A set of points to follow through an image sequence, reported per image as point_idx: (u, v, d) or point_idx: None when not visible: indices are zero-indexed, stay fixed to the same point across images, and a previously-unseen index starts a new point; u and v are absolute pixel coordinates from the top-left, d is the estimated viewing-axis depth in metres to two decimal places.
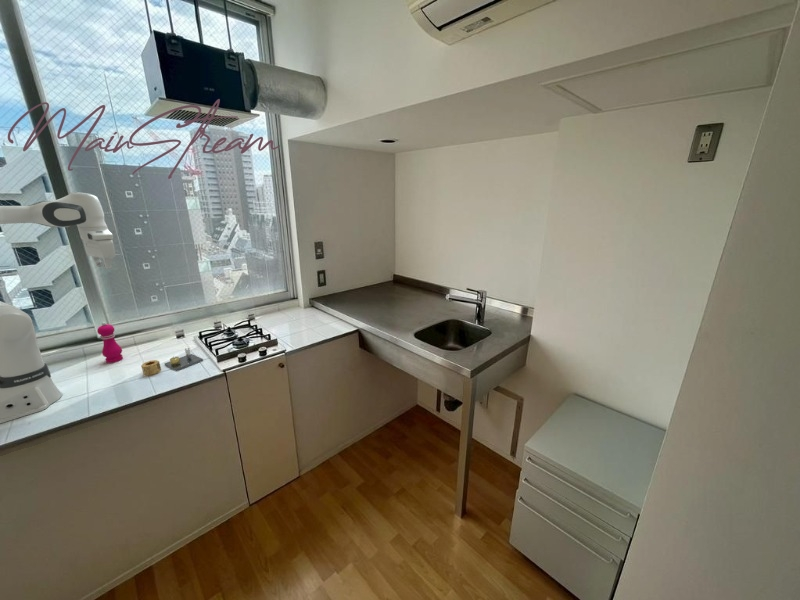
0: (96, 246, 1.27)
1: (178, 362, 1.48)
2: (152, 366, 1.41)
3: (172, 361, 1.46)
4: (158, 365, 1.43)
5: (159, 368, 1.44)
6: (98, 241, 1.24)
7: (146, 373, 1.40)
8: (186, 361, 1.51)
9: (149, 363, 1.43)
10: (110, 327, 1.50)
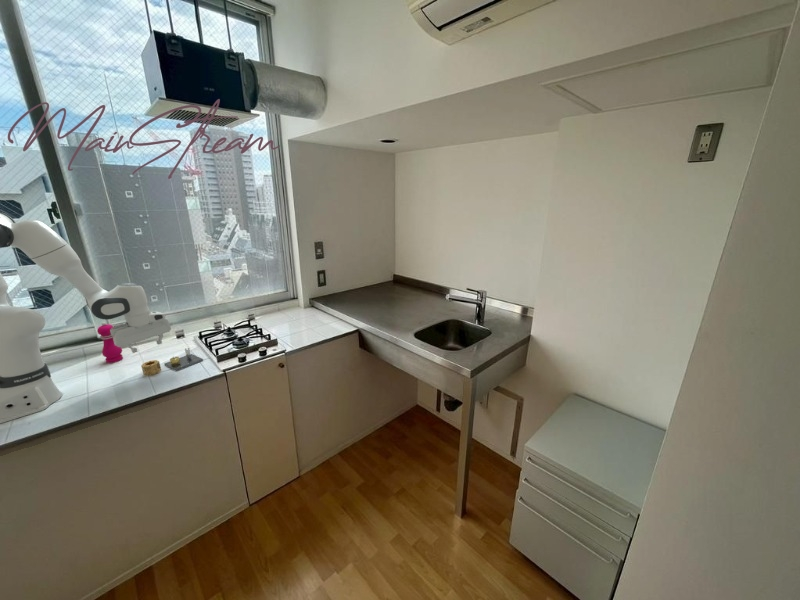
0: (153, 326, 1.40)
1: (178, 362, 1.48)
2: (152, 366, 1.41)
3: (172, 361, 1.46)
4: (158, 365, 1.43)
5: (159, 368, 1.44)
6: (165, 318, 1.43)
7: (146, 373, 1.40)
8: (186, 361, 1.51)
9: (149, 363, 1.43)
10: (110, 327, 1.50)
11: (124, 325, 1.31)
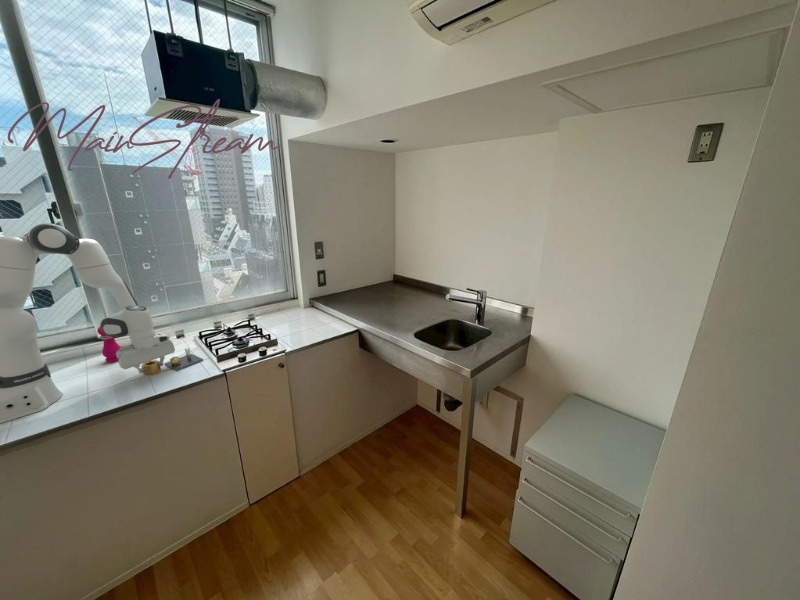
0: (157, 348, 1.43)
1: (178, 362, 1.48)
2: (152, 366, 1.41)
3: (172, 361, 1.46)
4: (158, 365, 1.43)
5: (159, 368, 1.44)
6: None
7: (146, 373, 1.40)
8: (186, 361, 1.51)
9: (149, 363, 1.43)
10: None
11: (130, 347, 1.34)
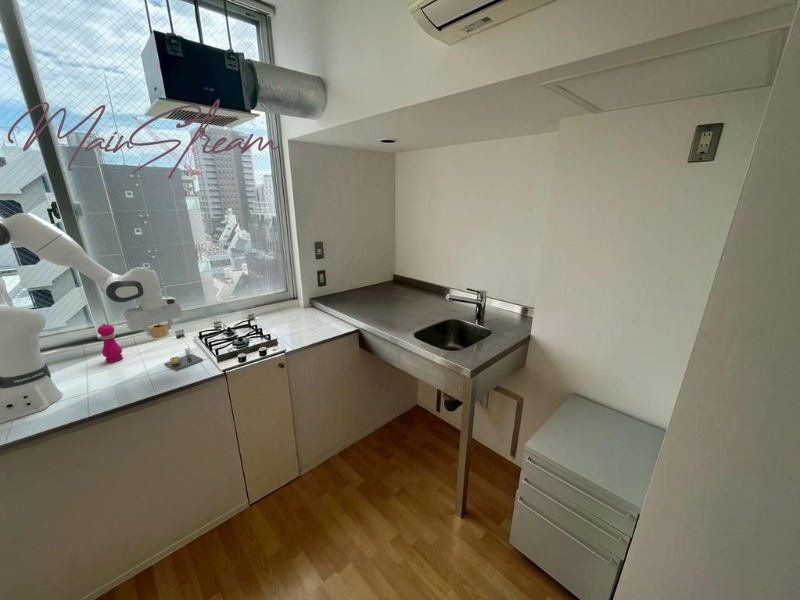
0: (165, 311, 1.41)
1: (178, 362, 1.48)
2: (160, 329, 1.40)
3: (172, 361, 1.46)
4: (166, 328, 1.42)
5: (167, 331, 1.43)
6: (176, 303, 1.44)
7: (154, 335, 1.39)
8: (186, 361, 1.51)
9: (157, 326, 1.42)
10: (110, 327, 1.50)
11: (137, 308, 1.33)
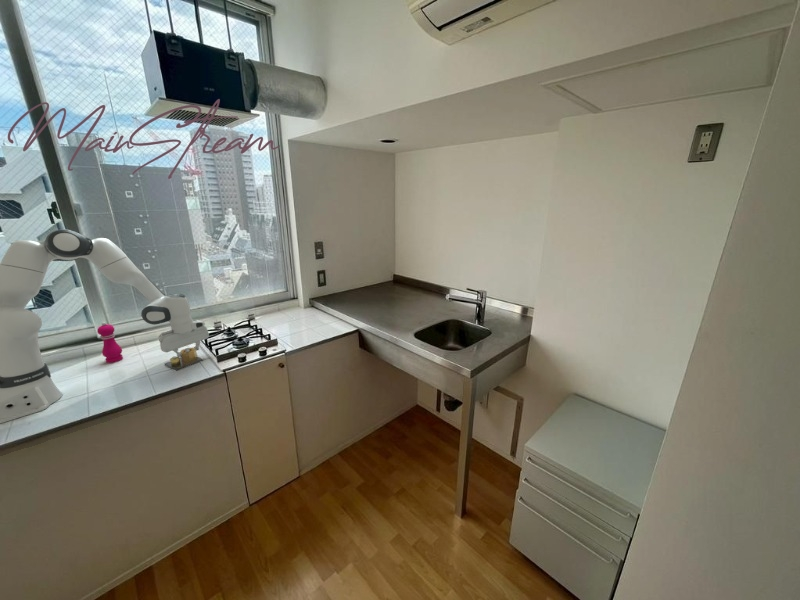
0: (194, 333, 1.53)
1: (178, 362, 1.48)
2: (190, 353, 1.51)
3: (172, 361, 1.46)
4: (195, 352, 1.54)
5: (195, 355, 1.54)
6: None
7: (184, 359, 1.51)
8: None
9: None
10: (110, 327, 1.50)
11: (170, 332, 1.44)
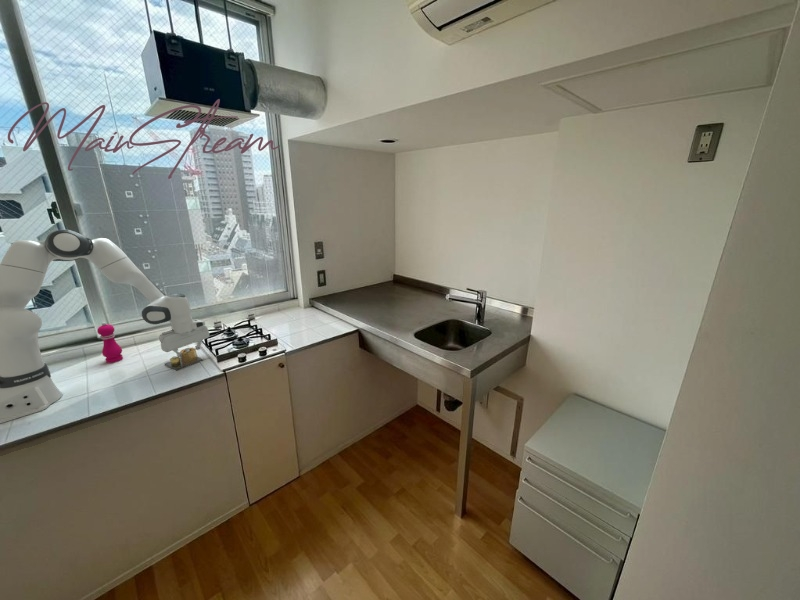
0: (194, 333, 1.53)
1: (178, 362, 1.48)
2: (190, 353, 1.51)
3: (172, 361, 1.46)
4: (195, 352, 1.54)
5: (195, 355, 1.54)
6: None
7: (184, 359, 1.51)
8: None
9: None
10: (110, 327, 1.50)
11: (170, 332, 1.45)
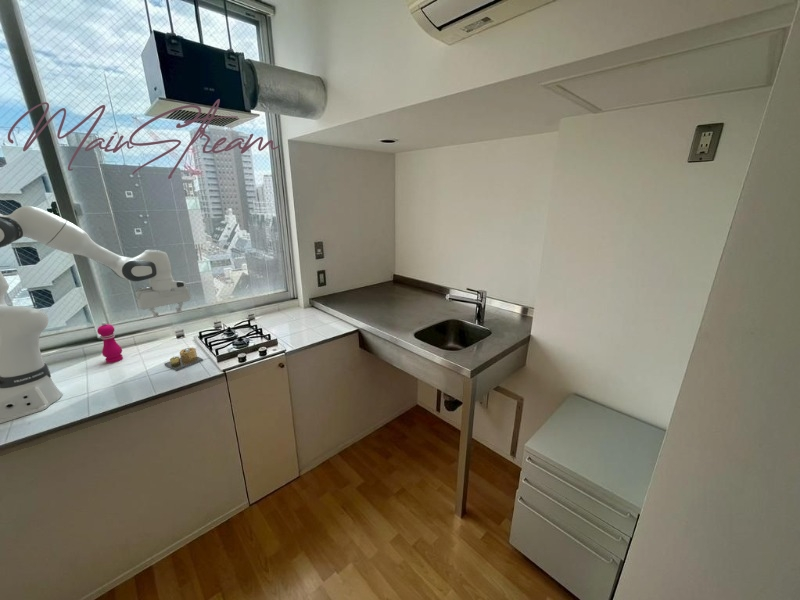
0: (174, 293, 1.47)
1: (178, 362, 1.48)
2: (190, 353, 1.51)
3: (172, 361, 1.46)
4: (195, 352, 1.54)
5: (195, 355, 1.54)
6: (185, 287, 1.50)
7: (184, 359, 1.51)
8: None
9: None
10: (110, 327, 1.50)
11: (148, 289, 1.39)
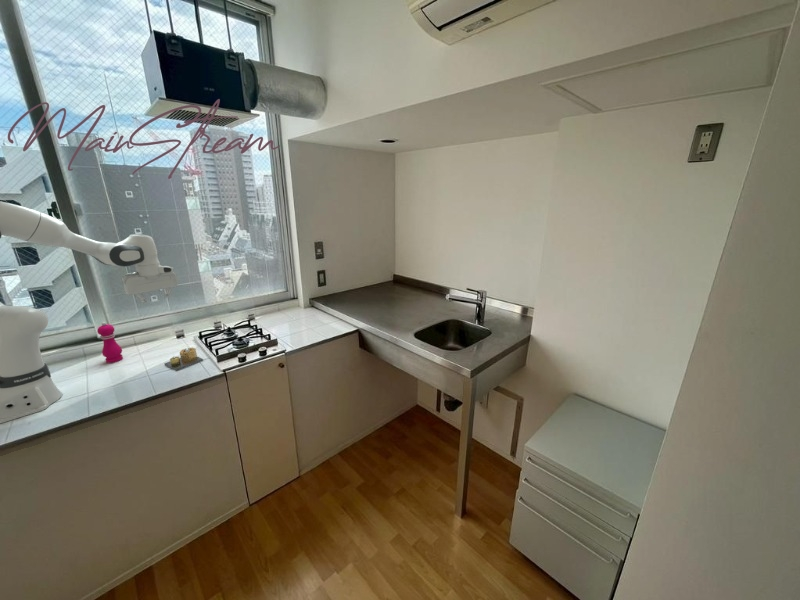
0: (162, 279, 1.45)
1: (178, 362, 1.48)
2: (190, 353, 1.51)
3: (172, 361, 1.46)
4: (195, 352, 1.54)
5: (195, 355, 1.54)
6: (173, 272, 1.48)
7: (184, 359, 1.51)
8: None
9: None
10: (110, 327, 1.50)
11: (135, 274, 1.37)
